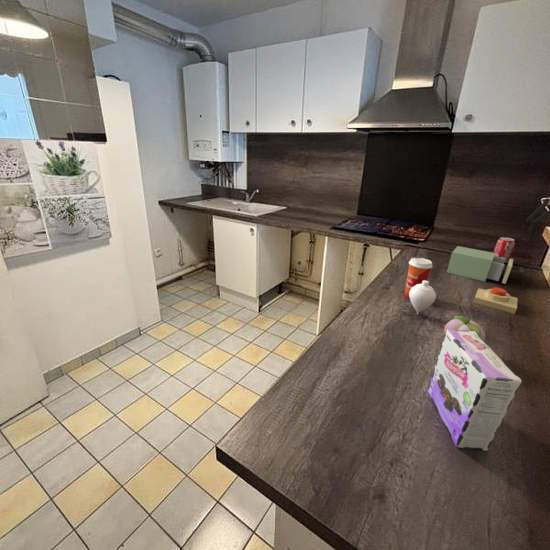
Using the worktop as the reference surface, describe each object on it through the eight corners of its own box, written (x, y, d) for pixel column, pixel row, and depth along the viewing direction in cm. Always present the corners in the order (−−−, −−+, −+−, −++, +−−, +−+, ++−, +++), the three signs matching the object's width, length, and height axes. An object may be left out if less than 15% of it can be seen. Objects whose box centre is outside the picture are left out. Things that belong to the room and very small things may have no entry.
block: (515, 303, 105) (519, 293, 103) (514, 314, 97) (519, 303, 96) (476, 293, 112) (479, 283, 110) (473, 302, 104) (476, 292, 103)
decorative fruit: (487, 358, 76) (500, 325, 72) (462, 363, 73) (474, 330, 69) (456, 337, 84) (467, 307, 80) (434, 341, 82) (443, 310, 78)
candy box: (425, 390, 65) (445, 327, 58) (453, 392, 64) (476, 330, 58) (455, 448, 52) (484, 376, 45) (489, 452, 52) (524, 380, 45)
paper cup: (398, 291, 111) (406, 256, 105) (418, 291, 111) (427, 257, 105) (406, 300, 104) (415, 264, 98) (427, 301, 104) (437, 265, 98)
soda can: (510, 262, 145) (518, 239, 140) (504, 265, 141) (513, 241, 137) (494, 258, 150) (502, 236, 146) (488, 260, 147) (496, 237, 142)
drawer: (519, 278, 124) (526, 261, 121) (518, 287, 116) (525, 268, 113) (471, 267, 134) (476, 251, 131) (467, 274, 126) (472, 258, 123)
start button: (505, 294, 103) (506, 289, 103) (504, 297, 100) (506, 293, 100) (491, 290, 106) (493, 286, 105) (490, 294, 103) (492, 289, 102)
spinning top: (431, 323, 91) (441, 288, 86) (405, 317, 93) (413, 284, 88) (428, 311, 97) (437, 278, 93) (404, 306, 100) (411, 274, 95)
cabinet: (488, 273, 131) (495, 253, 127) (485, 281, 122) (492, 260, 118) (451, 265, 139) (457, 246, 136) (446, 272, 130) (452, 252, 127)
